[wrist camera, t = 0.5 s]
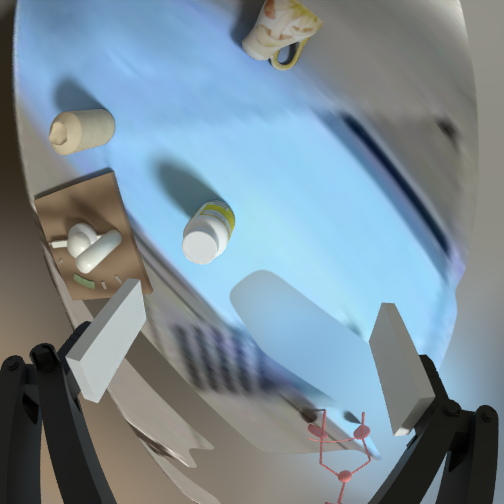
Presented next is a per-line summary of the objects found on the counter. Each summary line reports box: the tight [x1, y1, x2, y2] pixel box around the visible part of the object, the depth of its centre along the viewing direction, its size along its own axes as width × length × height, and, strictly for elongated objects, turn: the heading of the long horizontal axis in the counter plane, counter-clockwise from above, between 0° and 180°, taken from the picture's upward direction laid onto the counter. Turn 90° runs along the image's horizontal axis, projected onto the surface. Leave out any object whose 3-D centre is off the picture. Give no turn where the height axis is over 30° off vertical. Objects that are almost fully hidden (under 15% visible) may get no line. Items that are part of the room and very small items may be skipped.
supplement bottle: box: [182, 200, 235, 264], centre depth 37 cm, size 5×5×10 cm
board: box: [34, 171, 153, 300], centre depth 45 cm, size 20×18×1 cm
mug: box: [242, 0, 324, 70], centre depth 28 cm, size 8×10×10 cm
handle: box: [52, 223, 122, 273], centre depth 40 cm, size 15×6×9 cm, turn 96°
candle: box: [49, 109, 115, 155], centre depth 33 cm, size 6×6×10 cm
